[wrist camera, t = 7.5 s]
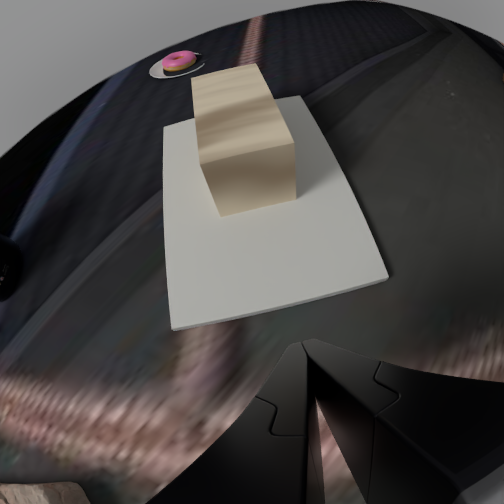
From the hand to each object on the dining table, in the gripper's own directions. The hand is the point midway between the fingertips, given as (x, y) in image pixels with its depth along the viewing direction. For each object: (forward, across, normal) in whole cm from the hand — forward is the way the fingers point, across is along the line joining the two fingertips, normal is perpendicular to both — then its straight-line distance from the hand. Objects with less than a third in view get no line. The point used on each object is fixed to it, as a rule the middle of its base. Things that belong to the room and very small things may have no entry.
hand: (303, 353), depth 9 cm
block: (+11, 0, +5) cm, 12 cm away
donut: (+34, -6, +22) cm, 41 cm away
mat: (+16, 0, +4) cm, 16 cm away
